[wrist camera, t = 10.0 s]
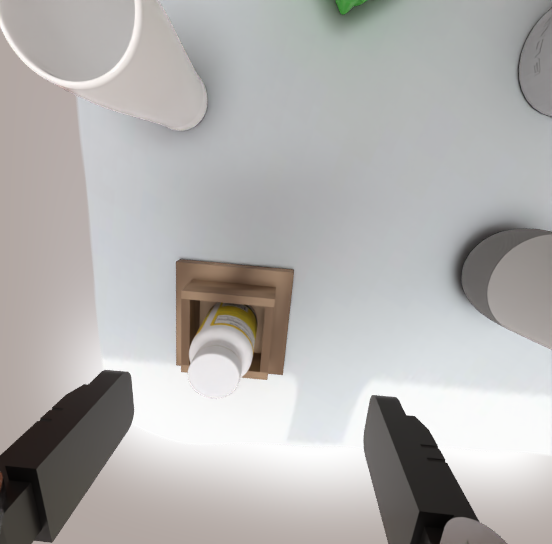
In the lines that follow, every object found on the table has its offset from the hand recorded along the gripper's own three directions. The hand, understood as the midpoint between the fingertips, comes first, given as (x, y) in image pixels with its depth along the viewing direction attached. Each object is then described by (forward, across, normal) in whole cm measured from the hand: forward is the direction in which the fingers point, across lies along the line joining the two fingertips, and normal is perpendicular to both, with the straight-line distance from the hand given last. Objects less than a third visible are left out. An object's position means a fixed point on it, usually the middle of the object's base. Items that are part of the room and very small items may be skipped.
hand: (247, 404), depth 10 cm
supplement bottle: (+21, +4, +7) cm, 22 cm away
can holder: (+22, +4, +7) cm, 23 cm away
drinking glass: (+22, +10, -14) cm, 28 cm away
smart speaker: (+23, -23, 0) cm, 32 cm away
